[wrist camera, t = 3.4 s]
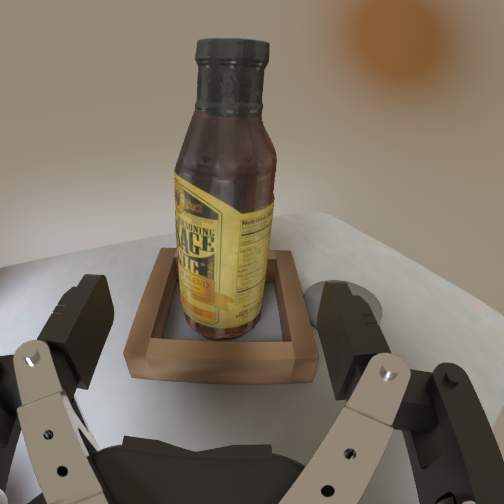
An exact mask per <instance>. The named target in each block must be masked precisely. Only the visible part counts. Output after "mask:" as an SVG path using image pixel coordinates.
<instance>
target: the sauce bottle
mask: <svg viewBox="0 0 504 504" xmlns="http://www.w3.org/2000/svg"><path fill="white" fill-rule="evenodd" d="M269 47H270V46H269V43H268V42H266V41H263V40H259V39H254V38H247V37H231V36H229V37H228V36H225V37H206V38H201V39H199V40H198V42H197V49H196V55H195V60H196V63H197V64H198V81H197V85H198V86H197V101H196V104H195V111H194V114H193V116H192V119H191V122H190V125H189V127H188V131H187V133H186V136H185V139H184V142H183V145H182V148H181V151H180V154H179V158H178V161H177V163H176V167H175V170H174V180H175V182H174V183H175V215H176V238H177V255H178V268H179V281H180V293H181V303H182V307H183V309H184V315H185V318H186V321H187V323H188V324H189V325H190V326H191V327H192V328H193V329H194V330H195V331H197V332H198V333H201V334H202V335H204V336H205V337H208V338H211V339H221V338H224V339H227V338H235V337H238V336H241V335H243V334H245V333H247V332H248V331H249V330H250V329H251V328H253V326H254V325H255V324H256V323H257V322H258V319H259V317H260V310H261V307H262V302H263V293H264V285H265V277H266V268H267V259H268V251H269V242H270V234H271V225H272V216H273V207H274V194H273V190H274V181H275V172H276V163H277V158H276V152H275V149H274V146H273V144H272V142H271V139H270V137H269V135H268V133H267V131H266V130H265V128H264V125H263V122H262V117H261V115H262V109H263V103H262V92H263V80H264V69H265V68H266V66H267V64H268V62H269Z"/></svg>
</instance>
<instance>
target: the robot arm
mask: <svg viewBox="0 0 504 504" xmlns="http://www.w3.org/2000/svg"><path fill="white" fill-rule="evenodd" d="M113 321H114V307H113V303H112V299H111V295H110V291H109V287H108V283H107V279H106V277H105V276H104V275H92V274H85V275H84V276H83V278H82V279H81V281H80V283H79V284H78V286H77V287H72V288H71V289H70V290H68V291H67V292H66V293H65V294H64V295H63V296H62V298H61V299H60V301H59V303H58V306H56V307H55V309H54V311H53V314H51V316H50V317H49V319H48V321H47V322H46V324H45V326H44V328H43V329H42V331H41V333H40V335H39V336H38V338H37V340H31V341H28V342H26V343H24V344H22V345H21V346H20V347H19V348H18V349H17V350H16V352H15V354H14V355H6V356H0V504H8V500H7V497H6V495H5V489H6V484H7V480H8V476H9V471H10V467H11V464H12V460H13V456H14V452H15V449H16V445H17V442H18V439H19V435H20V432H21V429H22V433H23V436H24V440H25V443H26V447H27V450H28V453H29V456H30V459H31V462H32V465H33V468H34V471H35V474H36V477H37V479H38V482H39V485H40V487H41V490H42V493H41V494H40V495H38V496H37V497H35V498H34V499H33V500H31V501H30V502H29V503H27V504H357V503H358V501H359V500H360V498H361V496H362V494H363V492H364V491H365V489H366V487H367V485H368V483H369V481H370V479H371V477H372V475H373V473H374V471H375V469H376V467H377V465H378V463H379V461H380V459H381V457H382V455H383V453H384V450H385V448H386V446H387V444H388V442H389V439H390V437H391V435H392V432H393V429H397V430H402V431H403V435H404V439H405V442H406V446H407V450H408V454H409V458H410V462H411V466H412V470H413V475H414V479H415V483H416V488H417V493H418V497H419V502H420V504H504V461H503V458H502V455H501V453H500V450H499V447H498V445H497V442H496V439H495V437H494V434H493V432H492V429H491V427H490V424H489V422H488V419H487V417H486V415H485V412H484V410H483V408H482V405H481V403H480V401H479V399H478V396H477V394H476V392H475V390H474V388H473V386H472V384H471V381H470V379H469V377H468V375H467V374H466V372H465V371H464V370H463V369H462V368H461V367H459V366H458V365H456V364H453V363H442V364H439V365H438V366H437V367H436V368H435V370H434V371H433V373H430V372H423V371H417V370H412V369H410V368H409V366H408V364H407V363H406V362H405V361H404V360H403V359H402V358H401V357H399V356H397V355H394V354H392V353H391V351H390V349H389V347H388V344H387V342H386V340H385V338H384V336H383V333H382V331H381V329H380V327H379V325H378V324H377V320H376V318H375V316H373V312H372V310H371V308H370V306H369V304H368V303H367V302H366V301H365V300H364V299H363V298H362V297H361V296H360V295H352V293H351V290H350V288H349V286H348V284H347V282H325V284H324V287H323V292H322V296H321V301H320V305H319V310H318V314H317V329H318V333H319V337H320V341H321V344H322V348H323V352H324V356H325V360H326V364H327V367H328V371H329V375H330V379H331V383H332V387H333V391H334V395H335V399H336V400H347V404H346V405H345V406H344V408H343V409H342V411H341V413H340V414H339V416H338V418H337V419H336V421H335V423H334V424H333V426H332V427H331V429H330V431H329V432H328V434H327V435H326V437H325V439H324V440H323V442H322V443H321V445H320V446H319V448H318V449H317V451H316V452H315V454H314V455H313V457H312V458H311V460H310V461H309V463H308V464H307V466H306V467H305V466H304V465H302V464H300V463H299V462H297V461H295V460H292V459H290V458H288V457H285V456H281V455H278V454H272V449H271V444H270V445H231V446H226V447H221V448H216V449H210V450H205V451H198V452H194V451H190V450H186V449H183V448H180V447H177V446H174V445H171V444H168V443H165V442H162V441H159V440H152V439H144V438H137V437H130V436H124V438H123V443H122V445H116V446H111V447H108V448H105V449H102V450H101V449H100V447H99V446H98V444H97V442H96V441H95V439H94V437H93V435H92V433H91V431H90V429H89V427H88V424H87V422H86V420H85V418H84V415H83V413H82V411H81V409H80V406H79V404H78V401H77V399H76V397H75V395H74V394H75V391H76V389H77V388H80V389H86V390H88V388H89V385H90V382H91V379H92V376H93V374H94V371H95V368H96V365H97V363H98V360H99V357H100V355H101V352H102V349H103V347H104V344H105V342H106V339H107V337H108V334H109V332H110V329H111V327H112V324H113Z"/></svg>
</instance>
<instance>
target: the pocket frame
mask: <svg viewBox="0 0 504 504" xmlns="http://www.w3.org/2000/svg"><path fill="white" fill-rule="evenodd" d="M176 280H179V268H178V255H177V248H161V250H160V252H159V255H158V257H157V260H156V262H155V265H154V267H153V270H152V273H151V275H150V278H149V280H148V283H147V286H146V289H145V291H144V294H143V297H142V299H141V302H140V305H139V308H138V311H137V313H136V316H135V319H134V322H133V325H132V328H131V331H130V334H129V337H128V340H127V343H126V346H125V349H124V352H123V354H124V357H125V360H126V363H127V366H128V369H129V372H130V375H131V377H132V378H142V379H152V380H164V381H178V382H195V383H220V384H279V383H305V382H312V380H313V377H314V373H315V370H316V367H317V363H318V360H319V356H318V352H317V348H316V344H315V340H314V336H313V332H312V328H311V324H310V320H309V316H308V313H307V309H306V305H305V301H304V297H303V294H302V290H301V286H300V282H299V279H298V275H297V271H296V268H295V264H294V260H293V257H292V253H291V251H281V250H269V251H268V259H267V268H266V277H265V282H274V285H275V291H276V298H277V304H278V310H279V317H280V323H281V330H282V336H283V342H229V341H197V340H176V339H162V336H163V331H164V327H165V323H166V319H167V315H168V311H169V307H170V303H171V299H172V295H173V291H174V287H175V283H176Z"/></svg>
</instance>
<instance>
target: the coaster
mask: <svg viewBox="0 0 504 504" xmlns="http://www.w3.org/2000/svg"><path fill="white" fill-rule="evenodd" d="M325 282H345V281H338V280H329V281H322V282H319V283H316V284H314V285H312V286H311V287H309V288H308V289H307V290H306V292H305V293H304V296H303V297H304V301H305V305H306V309H307V313H308V316H309V320H310V323H311V324H312V325H313V326H314V327H315V328H317V314H318V310H319V305H320V301H321V296H322V292H323V287H324V284H325ZM347 284H348V286H349V288H350V290H351V293H352V295H360V296H361V297H362V298H363V299H364V300H365V301H366V302H367V303H368V304H369V306H370V308H371V310H372V312H373V316H375V318H376V320H377V324H378V325H379V322H380V320H381V317H382V308H381V305H380V303H379V301H378V300H377V298H376V297H375V296H374V295H373V294H372V293H370V292H369V291H368V290H366V289H365V288H363V287H361V286H358V285H356V284H353V283H350V282H347Z"/></svg>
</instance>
